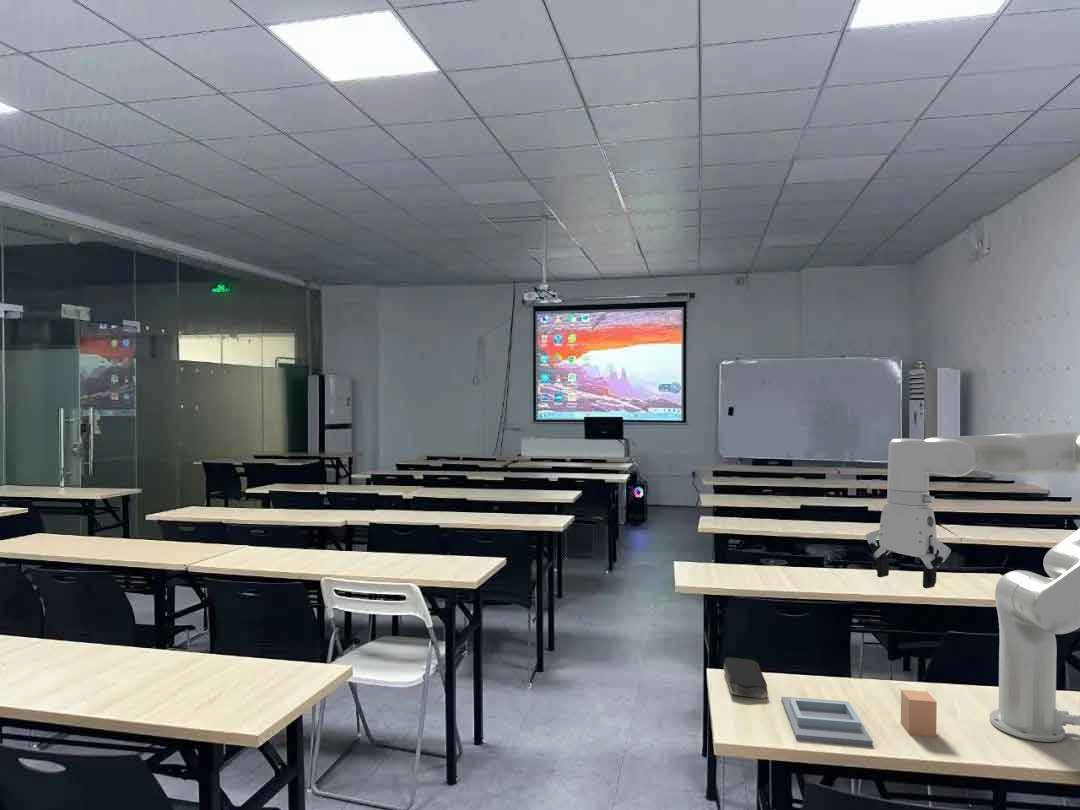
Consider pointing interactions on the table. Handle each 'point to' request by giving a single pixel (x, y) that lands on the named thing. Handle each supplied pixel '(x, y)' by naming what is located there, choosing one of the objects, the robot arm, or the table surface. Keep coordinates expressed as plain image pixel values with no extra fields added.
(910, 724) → the orange rectangular block
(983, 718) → the table surface
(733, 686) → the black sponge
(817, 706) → the holder dock
